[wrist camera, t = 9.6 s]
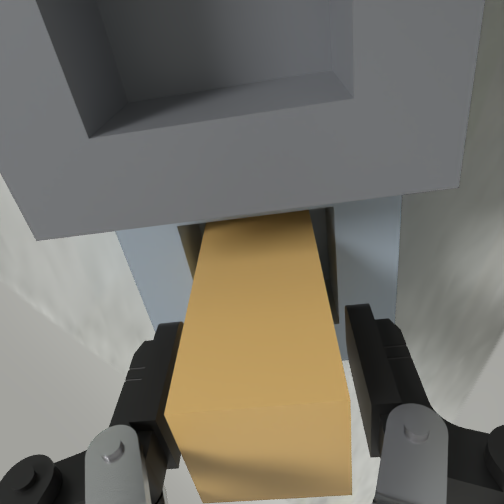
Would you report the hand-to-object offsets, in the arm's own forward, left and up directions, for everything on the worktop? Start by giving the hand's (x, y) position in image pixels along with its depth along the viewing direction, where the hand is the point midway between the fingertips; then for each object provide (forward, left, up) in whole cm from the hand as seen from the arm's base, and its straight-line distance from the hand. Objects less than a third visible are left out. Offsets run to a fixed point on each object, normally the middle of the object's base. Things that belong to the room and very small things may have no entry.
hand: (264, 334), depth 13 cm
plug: (0, 0, -6) cm, 6 cm away
